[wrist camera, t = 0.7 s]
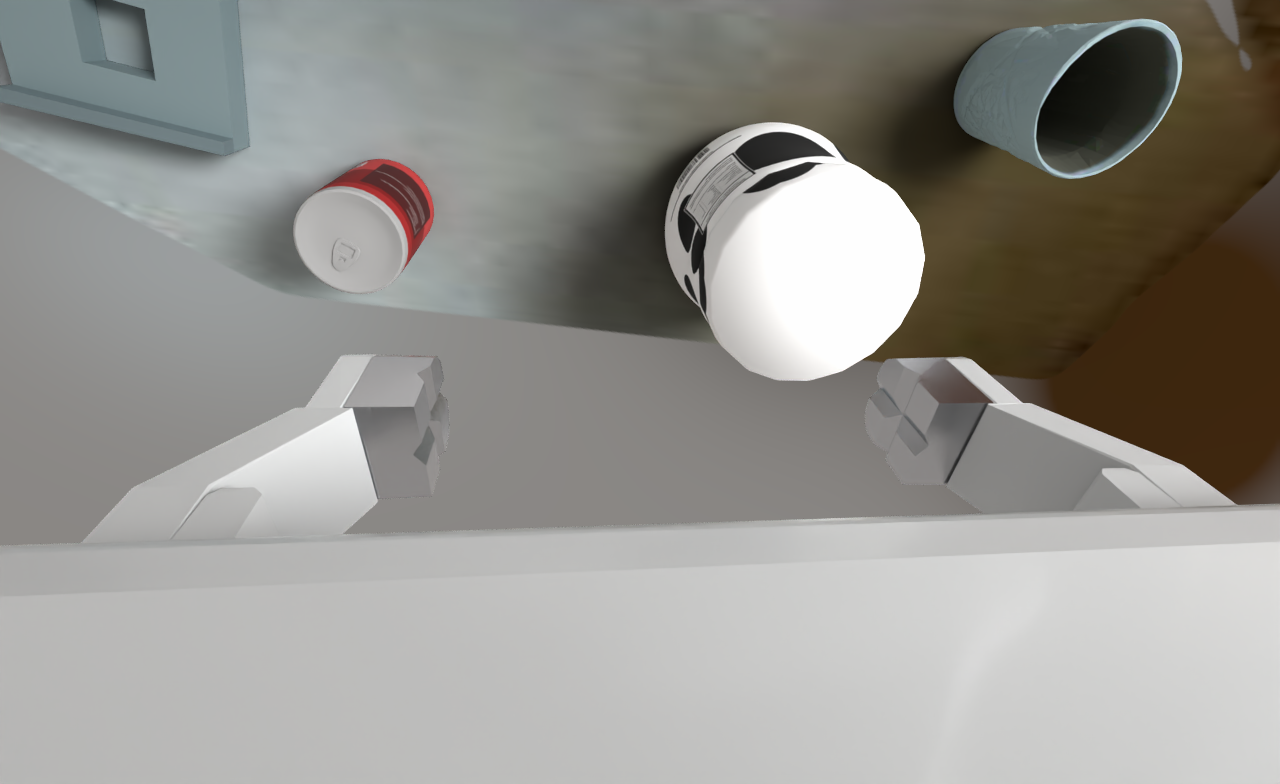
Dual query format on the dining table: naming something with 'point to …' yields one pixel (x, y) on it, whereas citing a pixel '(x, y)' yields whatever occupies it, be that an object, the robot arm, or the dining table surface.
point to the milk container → (792, 251)
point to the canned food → (364, 226)
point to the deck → (132, 70)
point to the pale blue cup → (1070, 92)
